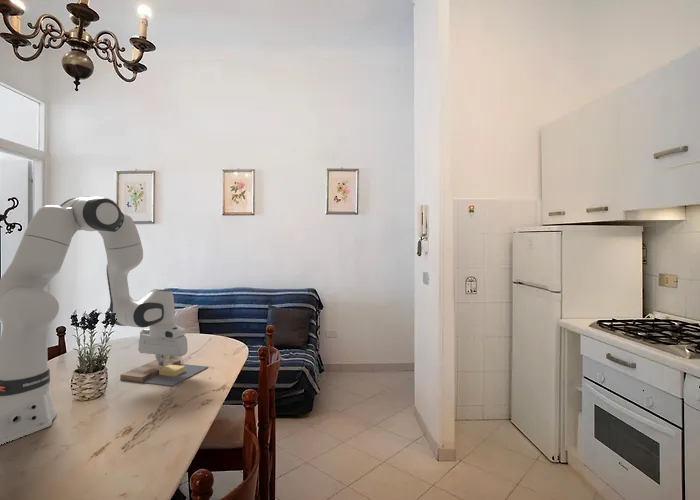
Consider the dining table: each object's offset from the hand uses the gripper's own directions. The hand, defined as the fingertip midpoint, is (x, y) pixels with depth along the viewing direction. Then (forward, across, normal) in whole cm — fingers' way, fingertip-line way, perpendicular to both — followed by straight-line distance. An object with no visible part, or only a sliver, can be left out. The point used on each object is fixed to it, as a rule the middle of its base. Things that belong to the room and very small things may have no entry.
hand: (162, 365), depth 147 cm
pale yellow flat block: (+2, +4, 0) cm, 5 cm away
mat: (+3, +7, 0) cm, 7 cm away
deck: (+3, -5, 0) cm, 6 cm away
